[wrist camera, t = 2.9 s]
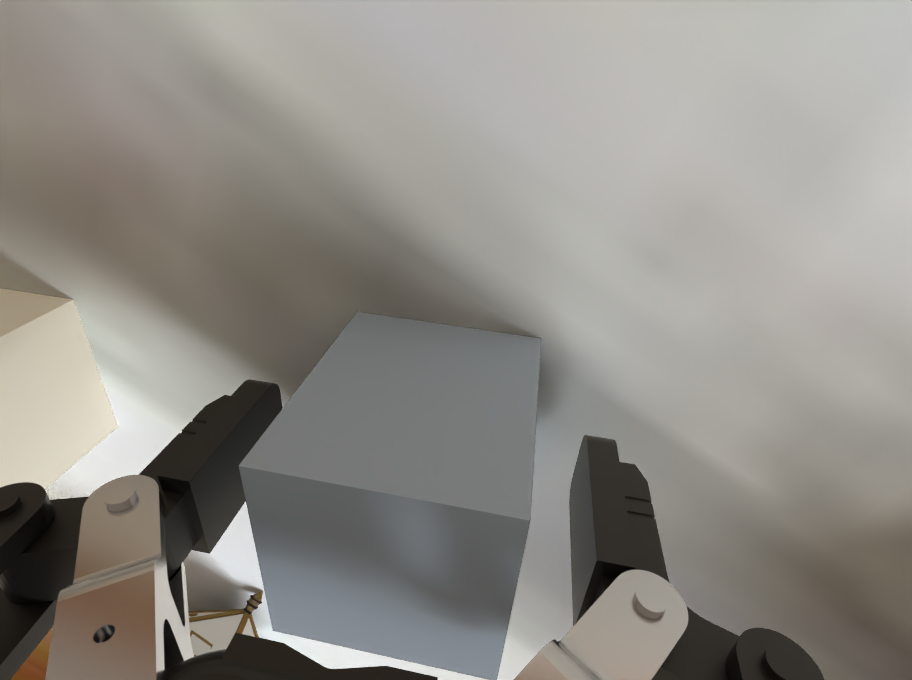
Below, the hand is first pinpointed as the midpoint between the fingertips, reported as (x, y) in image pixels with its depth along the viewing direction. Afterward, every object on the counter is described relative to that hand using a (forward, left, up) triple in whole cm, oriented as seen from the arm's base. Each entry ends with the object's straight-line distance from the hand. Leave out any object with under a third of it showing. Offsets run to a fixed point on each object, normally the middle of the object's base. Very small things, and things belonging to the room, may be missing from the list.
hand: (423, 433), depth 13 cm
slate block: (0, 0, -2) cm, 2 cm away
